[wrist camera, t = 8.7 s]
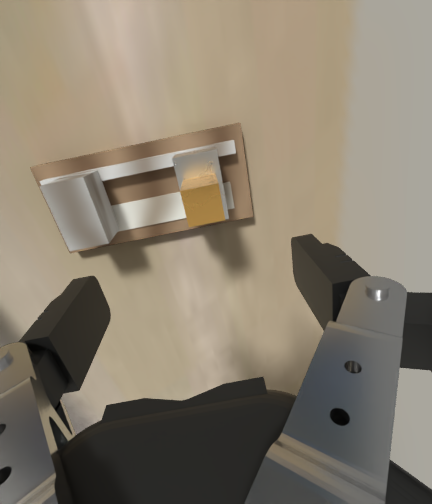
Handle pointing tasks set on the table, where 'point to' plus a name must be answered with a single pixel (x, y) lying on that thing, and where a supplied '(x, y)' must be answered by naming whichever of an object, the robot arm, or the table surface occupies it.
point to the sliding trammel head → (201, 186)
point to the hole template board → (137, 189)
